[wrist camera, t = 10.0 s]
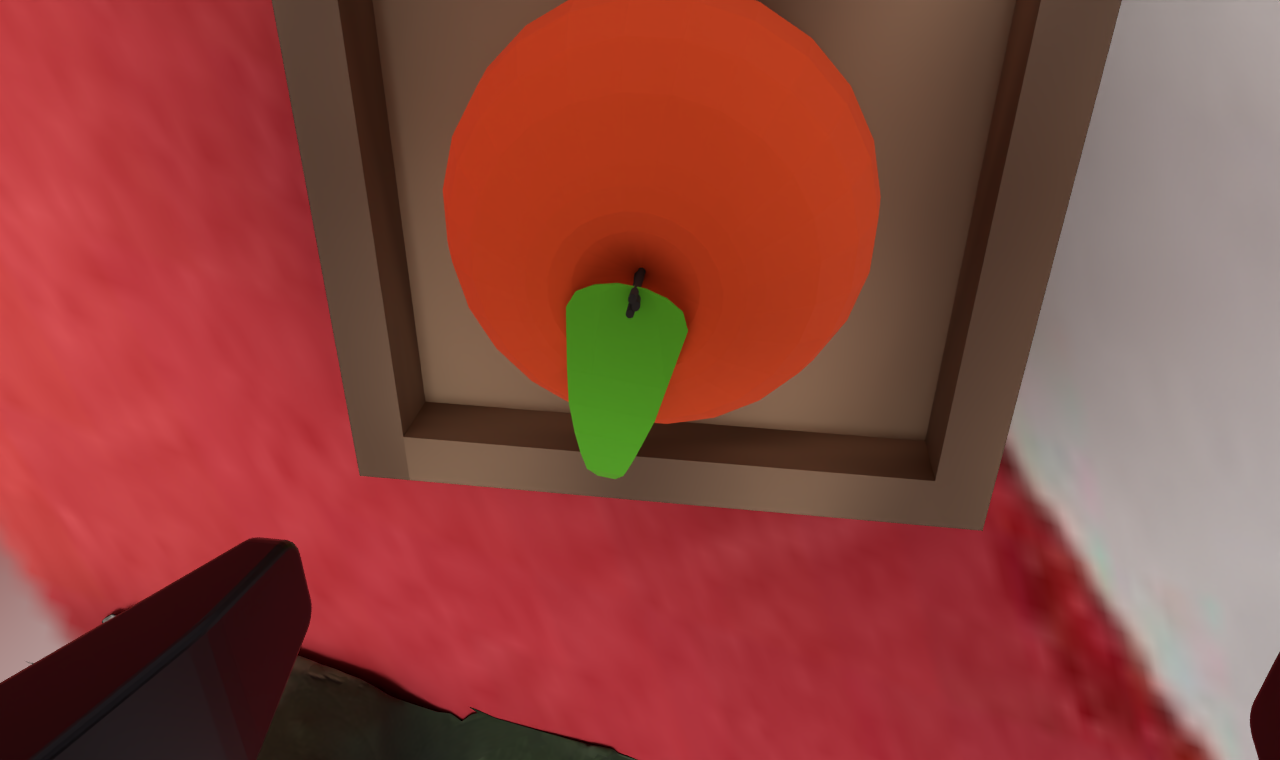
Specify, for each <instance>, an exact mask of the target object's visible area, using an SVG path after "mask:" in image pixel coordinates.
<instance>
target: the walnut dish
mask: <svg viewBox="0 0 1280 760" xmlns="http://www.w3.org/2000/svg"><path fill="white" fill-rule="evenodd" d="M566 1H568V0H272V4H273V10H274V15H275V20H276V26H277V31H278V37H279V42H280V47H281V53H282V58H283V64H284V69H285V74H286V80H287V85H288V90H289V96H290V101H291V107H292V112H293V117H294V123H295V128H296V134H297V139H298V144H299V150H300V155H301V161H302V166H303V171H304V177H305V182H306V188H307V193H308V198H309V204H310V209H311V215H312V220H313V225H314V231H315V236H316V242H317V247H318V252H319V258H320V263H321V269H322V274H323V279H324V285H325V290H326V296H327V301H328V306H329V312H330V317H331V323H332V328H333V333H334V339H335V344H336V350H337V355H338V360H339V366H340V371H341V377H342V382H343V387H344V393H345V398H346V404H347V409H348V414H349V420H350V425H351V430H352V436H353V441H354V447H355V452H356V457H357V463H358V468H359V474H360V476H370V477H381V478H392V479H404V480H415V481H426V482H438V483H449V484H460V485H472V486H483V487H494V488H506V489H517V490H528V491H540V492H551V493H562V494H574V495H585V496H596V497H608V498H619V499H630V500H642V501H653V502H664V503H676V504H687V505H698V506H710V507H721V508H732V509H744V510H755V511H766V512H778V513H789V514H800V515H812V516H823V517H834V518H846V519H857V520H868V521H880V522H891V523H902V524H914V525H925V526H936V527H948V528H959V529H970V530H982V531H983V527H984V523H985V519H986V515H987V512H988V508H989V504H990V500H991V496H992V492H993V489H994V485H995V481H996V477H997V473H998V470H999V466H1000V462H1001V458H1002V454H1003V451H1004V447H1005V443H1006V439H1007V435H1008V432H1009V428H1010V424H1011V420H1012V416H1013V413H1014V409H1015V405H1016V401H1017V397H1018V393H1019V390H1020V386H1021V382H1022V378H1023V374H1024V371H1025V367H1026V363H1027V359H1028V355H1029V352H1030V348H1031V344H1032V340H1033V336H1034V333H1035V329H1036V325H1037V321H1038V317H1039V313H1040V310H1041V306H1042V302H1043V298H1044V294H1045V291H1046V287H1047V283H1048V279H1049V275H1050V272H1051V268H1052V264H1053V260H1054V256H1055V253H1056V249H1057V245H1058V241H1059V237H1060V233H1061V230H1062V226H1063V222H1064V218H1065V214H1066V211H1067V207H1068V203H1069V199H1070V195H1071V192H1072V188H1073V184H1074V180H1075V176H1076V173H1077V169H1078V165H1079V161H1080V157H1081V154H1082V150H1083V146H1084V142H1085V138H1086V134H1087V131H1088V127H1089V123H1090V119H1091V115H1092V112H1093V108H1094V104H1095V100H1096V96H1097V93H1098V89H1099V85H1100V81H1101V77H1102V74H1103V70H1104V66H1105V62H1106V58H1107V54H1108V51H1109V47H1110V43H1111V39H1112V35H1113V32H1114V28H1115V24H1116V20H1117V16H1118V13H1119V9H1120V5H1121V1H1122V0H756V1H759V2H761V3H762V4H764V5H765V6H767V7H768V8H769V9H771V10H772V11H774V12H775V13H777V14H778V15H779V16H781V17H782V18H784V19H785V20H787V21H788V22H790V23H791V24H792V25H794V26H795V27H797V28H798V29H800V30H801V31H803V32H804V33H805V34H807V35H808V36H810V37H811V38H812V39H813V40H814V41H815V42H816V43H817V45H818V46H819V47H820V48H821V50H822V51H823V52H824V53H825V55H826V56H827V57H828V58H829V59H830V61H831V62H832V63H833V64H834V66H835V67H836V68H837V69H838V71H839V72H840V73H841V74H842V75H843V77H844V78H845V79H846V80H847V82H848V83H849V84H850V85H851V87H852V89H853V92H854V94H855V97H856V99H857V101H858V104H859V106H860V108H861V111H862V113H863V116H864V118H865V120H866V123H867V125H868V127H869V130H870V132H871V134H872V137H873V139H874V144H875V153H876V161H877V170H878V178H879V187H880V195H881V199H880V209H879V218H878V224H877V230H876V236H875V242H874V248H873V255H872V261H871V267H870V272H869V275H868V277H867V279H866V281H865V283H864V285H863V287H862V289H861V292H860V294H859V296H858V298H857V300H856V302H855V304H854V306H853V309H852V311H851V313H850V315H849V317H848V319H847V321H846V322H845V323H844V324H843V326H842V327H841V328H840V329H839V330H838V332H837V333H836V334H835V335H834V336H833V337H832V339H831V340H830V341H829V342H828V343H827V344H826V346H825V347H824V348H823V349H822V350H821V351H820V353H819V354H818V355H817V356H816V357H815V358H814V360H813V361H812V362H810V363H809V364H808V365H807V366H806V367H805V368H804V369H803V370H802V371H800V372H799V373H798V374H797V375H795V376H794V377H792V378H791V379H790V380H788V381H787V382H785V383H784V384H782V385H781V386H779V387H778V388H777V389H775V390H774V391H772V392H771V393H769V394H768V395H767V396H765V397H764V398H762V399H761V400H759V401H757V402H754V403H752V404H749V405H746V406H744V407H741V408H738V409H736V410H733V411H731V412H728V413H725V414H723V415H720V416H718V417H715V418H708V419H701V420H693V421H686V422H678V423H671V424H662V423H654V424H653V425H652V427H651V429H650V431H649V433H648V435H647V437H646V439H645V440H644V442H643V444H642V446H641V448H640V450H639V451H638V453H637V455H636V457H635V459H634V460H633V462H632V464H631V465H630V467H629V468H628V470H627V471H626V473H625V474H624V476H622V477H620V478H617V479H611V478H607V477H602V476H597V475H596V474H594V473H593V472H591V471H590V470H588V469H587V468H586V465H585V463H584V460H583V458H582V455H581V453H580V449H579V446H578V442H577V439H576V435H575V432H574V427H573V422H572V417H571V412H570V407H569V402H567V401H565V400H564V399H562V398H560V397H558V396H557V395H555V394H553V393H551V392H550V391H548V390H546V389H545V388H543V387H541V386H539V385H538V384H536V383H534V382H532V381H531V380H530V379H529V378H528V377H527V376H526V375H525V374H524V373H522V372H521V371H520V370H519V369H518V368H517V367H516V366H515V365H514V364H513V363H512V362H511V361H509V360H508V359H507V358H506V357H505V356H504V355H503V354H502V353H501V352H500V351H499V350H498V349H496V347H495V346H494V344H493V343H492V341H491V340H490V338H489V337H488V335H487V334H486V332H485V331H484V329H483V328H482V327H481V325H480V324H479V322H478V321H477V319H476V318H475V316H474V315H473V313H472V312H471V310H470V309H469V307H468V304H467V301H466V298H465V296H464V293H463V290H462V287H461V285H460V282H459V279H458V277H457V274H456V271H455V268H454V266H453V263H452V259H451V255H450V251H449V246H448V242H447V231H446V221H445V210H444V199H443V185H444V179H445V173H446V168H447V162H448V157H449V151H450V145H451V140H452V136H453V134H454V131H455V129H456V127H457V125H458V123H459V121H460V119H461V117H462V115H463V113H464V111H465V109H466V107H467V105H468V103H469V101H470V99H471V97H472V95H473V93H474V91H475V89H476V87H477V85H478V83H479V81H480V79H481V78H482V76H483V74H484V72H485V70H486V69H487V67H488V66H489V65H490V64H491V63H492V62H493V61H494V60H495V58H496V57H497V56H498V55H499V54H500V53H501V52H502V51H503V50H504V49H505V48H506V46H507V45H508V44H509V43H510V42H511V41H512V40H513V39H514V38H515V37H516V36H517V35H518V33H519V32H520V31H521V30H522V29H523V28H524V27H525V26H526V25H527V24H529V23H531V22H532V21H534V20H536V19H537V18H539V17H541V16H542V15H544V14H546V13H547V12H549V11H551V10H553V9H554V8H556V7H558V6H559V5H561V4H563V3H564V2H566Z"/></svg>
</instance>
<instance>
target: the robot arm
mask: <svg viewBox="0 0 1280 760" xmlns="http://www.w3.org/2000/svg"><path fill="white" fill-rule="evenodd" d="M310 619H311V599H310V595H309V590H308V586H307V582H306V578H305V574H304V570H303V565H302V561H301V557H300V553H299V551H298V548H297V547H296V546H295V544H294V543H293V542H290V541H288V540H280V539H270V538H260V537H258V538H251V539H248V540H246V541H244V542H242V543H241V544H239V545H237V546H235V547H234V548H232V549H230V550H228V551H227V552H225V553H223V554H222V555H220V556H218V557H216V558H215V559H213V560H211V561H210V562H208V563H206V564H204V565H203V566H201V567H199V568H197V569H196V570H194V571H192V572H191V573H189V574H187V575H185V576H184V577H182V578H180V579H178V580H177V581H175V582H173V583H172V584H170V585H168V586H166V587H165V588H163V589H161V590H160V591H158V592H156V593H154V594H153V595H151V596H149V597H147V598H146V599H144V600H142V601H141V602H139V603H137V604H135V605H134V606H132V607H130V608H129V609H127V610H125V611H123V612H122V613H120V614H118V615H116V616H115V617H113V618H111V619H110V620H108V621H106V622H104V623H103V624H101V625H99V626H98V627H96V628H94V629H92V630H91V631H89V632H87V633H85V634H84V635H82V636H80V637H79V638H77V639H75V640H73V641H72V642H70V643H68V644H67V645H65V646H63V647H61V648H60V649H58V650H56V651H55V652H53V653H51V654H49V655H48V656H46V657H44V658H43V659H41V660H39V661H37V662H36V663H34V664H32V665H30V666H29V667H27V668H25V669H23V670H22V671H20V672H18V673H17V674H15V675H13V676H11V677H10V678H8V679H6V680H5V681H3V682H1V683H0V760H257V758H258V755H259V753H260V751H261V748H262V746H263V743H264V741H265V738H266V735H267V733H268V730H269V728H270V725H271V722H272V720H273V717H274V715H275V712H276V710H277V707H278V704H279V702H280V699H281V697H282V694H283V692H284V689H285V686H286V684H287V681H288V679H289V676H290V673H291V671H292V668H293V666H294V663H295V661H296V658H297V655H298V653H299V650H300V648H301V645H302V642H303V640H304V637H305V635H306V632H307V629H308V626H309V623H310ZM1250 727H1251V733H1252V738H1253V741H1254V745H1255V748H1256V751H1257V755H1258V758H1259V760H1280V652H1279V654H1278V656H1277V658H1276V660H1275V662H1274V664H1273V665H1272V667H1271V669H1270V671H1269V673H1268V675H1267V677H1266V679H1265V681H1264V683H1263V685H1262V687H1261V689H1260V691H1259V693H1258V695H1257V697H1256V698H1255V700H1254V702H1253V705H1252V708H1251V713H1250Z"/></svg>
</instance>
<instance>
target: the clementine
mask: <svg viewBox="0 0 1280 760" xmlns="http://www.w3.org/2000/svg"><path fill="white" fill-rule="evenodd" d="M443 199H444V210H445V221H446V231H447V242H448V246H449V251H450V255H451V259H452V263H453V266H454V268H455V271H456V274H457V277H458V279H459V282H460V285H461V287H462V290H463V293H464V296H465V298H466V301H467V304H468V307H469V309H470V310H471V312H472V313H473V315H474V316H475V318H476V319H477V321H478V322H479V324H480V325H481V327H482V328H483V329H484V331H485V332H486V334H487V335H488V337H489V338H490V340H491V341H492V343H493V344H494V346H495V347H496V349H498V350H499V351H500V352H501V353H502V354H503V355H504V356H505V357H506V358H507V359H508V360H509V361H511V362H512V363H513V364H514V365H515V366H516V367H517V368H518V369H519V370H520V371H521V372H522V373H524V374H525V375H526V376H527V377H528V378H529V379H530V380H531V381H532V382H534V383H536V384H538V385H539V386H541V387H543V388H545V389H546V390H548V391H550V392H551V393H553V394H555V395H557V396H558V397H560V398H562V399H564V400H565V401H567V402H569V407H570V412H571V417H572V422H573V427H574V432H575V435H576V439H577V442H578V446H579V449H580V453H581V455H582V458H583V460H584V463H585V465H586V468H587V469H588V470H590V471H591V472H593V473H594V474H596V475H597V476H602V477H607V478H611V479H617V478H620V477H622V476H624V474H625V473H626V471H627V470H628V468H629V467H630V465H631V464H632V462H633V460H634V459H635V457H636V455H637V453H638V451H639V450H640V448H641V446H642V444H643V442H644V440H645V439H646V437H647V435H648V433H649V431H650V429H651V427H652V425H653V424H654V423H662V424H671V423H678V422H686V421H693V420H701V419H708V418H715V417H718V416H720V415H723V414H725V413H728V412H731V411H733V410H736V409H738V408H741V407H744V406H746V405H749V404H752V403H754V402H757V401H759V400H761V399H762V398H764V397H765V396H767V395H768V394H769V393H771V392H772V391H774V390H775V389H777V388H778V387H779V386H781V385H782V384H784V383H785V382H787V381H788V380H790V379H791V378H792V377H794V376H795V375H797V374H798V373H799V372H800V371H802V370H803V369H804V368H805V367H806V366H807V365H808V364H809V363H810V362H812V361H813V360H814V358H815V357H816V356H817V355H818V354H819V353H820V351H821V350H822V349H823V348H824V347H825V346H826V344H827V343H828V342H829V341H830V340H831V339H832V337H833V336H834V335H835V334H836V333H837V332H838V330H839V329H840V328H841V327H842V326H843V324H844V323H845V322H846V321H847V319H848V317H849V315H850V313H851V311H852V309H853V306H854V304H855V302H856V300H857V298H858V296H859V294H860V292H861V289H862V287H863V285H864V283H865V281H866V279H867V277H868V275H869V272H870V267H871V261H872V255H873V248H874V242H875V236H876V230H877V224H878V218H879V209H880V199H881V195H880V187H879V178H878V170H877V161H876V153H875V144H874V139H873V137H872V134H871V132H870V130H869V127H868V125H867V123H866V120H865V118H864V116H863V113H862V111H861V108H860V106H859V104H858V101H857V99H856V97H855V94H854V92H853V89H852V87H851V85H850V84H849V83H848V82H847V80H846V79H845V78H844V77H843V75H842V74H841V73H840V72H839V71H838V69H837V68H836V67H835V66H834V64H833V63H832V62H831V61H830V59H829V58H828V57H827V56H826V55H825V53H824V52H823V51H822V50H821V48H820V47H819V46H818V45H817V43H816V42H815V41H814V40H813V39H812V38H811V37H810V36H808V35H807V34H805V33H804V32H803V31H801V30H800V29H798V28H797V27H795V26H794V25H792V24H791V23H790V22H788V21H787V20H785V19H784V18H782V17H781V16H779V15H778V14H777V13H775V12H774V11H772V10H771V9H769V8H768V7H767V6H765V5H764V4H762V3H761V2H759V1H756V0H568V1H566V2H564V3H563V4H561V5H559V6H558V7H556V8H554V9H553V10H551V11H549V12H547V13H546V14H544V15H542V16H541V17H539V18H537V19H536V20H534V21H532V22H531V23H529V24H527V25H526V26H525V27H524V28H523V29H522V30H521V31H520V32H519V33H518V35H517V36H516V37H515V38H514V39H513V40H512V41H511V42H510V43H509V44H508V45H507V46H506V48H505V49H504V50H503V51H502V52H501V53H500V54H499V55H498V56H497V57H496V58H495V60H494V61H493V62H492V63H491V64H490V65H489V66H488V67H487V69H486V70H485V72H484V74H483V76H482V78H481V79H480V81H479V83H478V85H477V87H476V89H475V91H474V93H473V95H472V97H471V99H470V101H469V103H468V105H467V107H466V109H465V111H464V113H463V115H462V117H461V119H460V121H459V123H458V125H457V127H456V129H455V131H454V134H453V136H452V140H451V145H450V151H449V157H448V162H447V168H446V173H445V179H444V185H443Z"/></svg>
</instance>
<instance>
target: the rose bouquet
mask: <svg viewBox="0 0 1280 760" xmlns="http://www.w3.org/2000/svg"><path fill="white" fill-rule="evenodd" d="M115 616H116V615H114V614H112V615H110V616H108V617H107V618H105V619H104V620H103V621H102V623H104V622H106V621H108V620H110V619H111V618H113V617H115ZM32 664H34V663H32ZM470 708H471V707H470ZM472 709H473V710H474V711H476V712H477V713H476V714H472V715H470V716H468V717H467V718H466V719H465V720H463V721H460V720H459V719H458V718H456V717H455V716H454V715H452V714H451V713H443V712H436V711H433V710H430V709H427V708H424V707H421V706H418V705H414V704H411V703H408V702H405V701H402V700H399V699H397V698H394V697H392V696H389V695H388V694H386V693H384V692H383V691H381V690H379V689H378V688H376V687H374V686H372V685H370V684H368V683H367V682H365V681H363V680H361V679H359V678H357V677H354V676H351V675H349V674H346V673H344V672H341V671H339V670H337V669H334V668H331V667H328V666H325V665H322V664H319V663H317V662H315V661H312V660H310V659H307V658H305V657H301V656H298V655H297V658H296V661H295V663H294V666H293V668H292V671H291V673H290V676H289V679H288V681H287V684H286V686H285V689H284V692H283V694H282V697H281V699H280V702H279V704H278V707H277V710H276V712H275V715H274V717H273V720H272V722H271V725H270V728H269V730H268V733H267V735H266V738H265V741H264V743H263V746H262V748H261V751H260V753H259V755H258V758H257V760H636V759H634V758H631V757H629V756H626V755H622V754H619V753H617V752H616V751H615V750H613V749H611V748H607V747H601V746H595V745H590V744H586V743H582V742H578V741H575V740H571V739H567V738H564V737H560V736H556V735H552V734H549V733H545V732H541V731H538V730H534V729H531V728H527V727H524V726H520V725H517V724H514V723H510V722H507V721H503V720H500V719H496V718H494V717H491V716H489V715H487V714H485V713H483V712H481V711H478V710H476V709H474V708H472Z"/></svg>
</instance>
